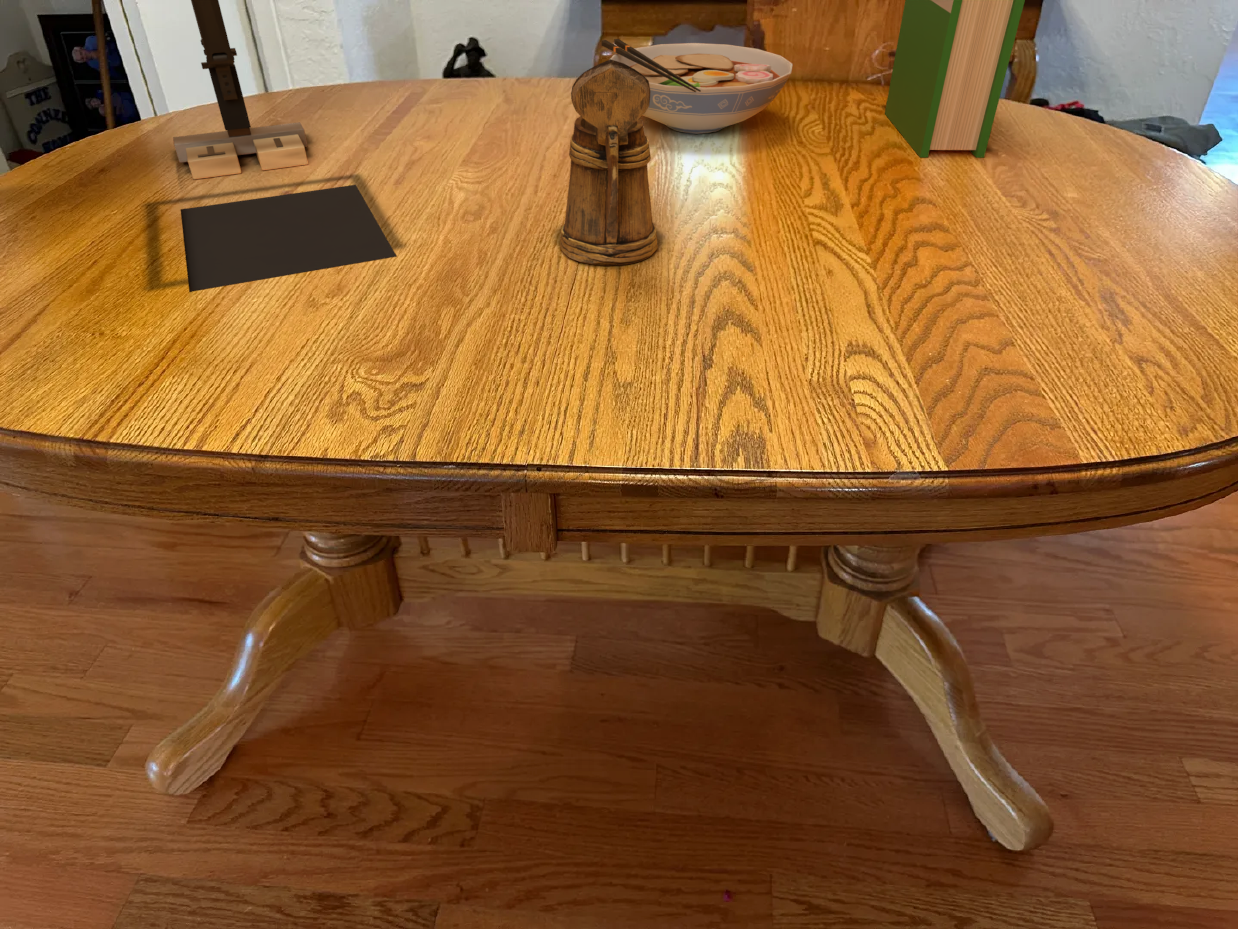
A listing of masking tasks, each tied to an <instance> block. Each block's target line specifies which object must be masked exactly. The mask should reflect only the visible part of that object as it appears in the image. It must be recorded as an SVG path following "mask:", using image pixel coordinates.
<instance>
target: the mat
mask: <svg viewBox="0 0 1238 929" xmlns="http://www.w3.org/2000/svg"><path fill="white" fill-rule="evenodd" d="M180 219H181V228H182V236H183V245H184V246H183V247H184V256H185V265H186V274H187V285H188V293H193V292H196V291H197V292H198V291H204V290H209V289H216V288H221V287H226V286H233V285H239V284H245V283H251V282H257V281H262V280H269V279H275V278H279V277H285V276H292V275H297V274H303V273H309V272H314V271H315V272H316V271H321V270H326V269H327V270H328V269H332V268H339V267H344V266H350V265H355V264H362V263H367V262H372V261H374V262H375V261H381V260H384V259H385V260H386V259H392V258H396V257H398V255H397V254H396V253H395V251H394V249H393V247H392V245H391V244H390V241H389V240H388V239H387V237H386V235H385V233H384V232H383V229H382V228H381V227H380V226H381V225H380V224H379V222H378V221H377V219H376V217H375V216H374V214H373V213H372V210H371V209H370V207H369V205H368V203H367V202H366V200H365V198H364V196H363V194H362V193H361V192H360V190H359V187H358V185H357V184H350V185H343V186H336V187H329V188H322V189H315V190H307V191H301V192H294V193H287V194H286V193H285V194H279V195H273V196H267V197H265V196H264V197H258V198H252V199H251V198H250V199H243V200H237V201H230V202H221V203H216V204H210V205H202V206H194V207H187V208H181V209H180Z"/></svg>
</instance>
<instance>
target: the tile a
mask: <svg viewBox="0 0 1238 929" xmlns="http://www.w3.org/2000/svg"><path fill="white" fill-rule="evenodd" d="M186 154H187V160H188V162H187V164H188V166H189V171H190V174H191V178H192V180H202V179H208V178H209V179H210V178H214V177H224V176H230V175H239V174H242V168H241V166H240V165H241V164H240V161H239V158H238V155H237V154H236V151H235V147H234V144H233V143H232V142H231V143H223V144H215V145H207V146H198V147H190V148H186Z"/></svg>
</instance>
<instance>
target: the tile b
mask: <svg viewBox="0 0 1238 929" xmlns="http://www.w3.org/2000/svg"><path fill="white" fill-rule="evenodd" d="M253 143H254V147H255V150H256V153H255V154H256V158H257V160H258V163H259V166H260V169H261V170H262V171H268V170H276V169H277V170H278V169H284V168H292V167H298V166H299V167H300V166H306V165H309V161H308V156H307V152H306V148H305V147H304V145H303V143H302V141H301V139H300V138H299V136H298V134H296V135H288V136H280V137H272V138H264V139H256V140H253Z"/></svg>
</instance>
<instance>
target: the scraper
mask: <svg viewBox="0 0 1238 929" xmlns="http://www.w3.org/2000/svg"><path fill="white" fill-rule="evenodd" d="M296 134H298V136H299V138H300V139H301V141H302V143H303V145H304V147H308V141H307V140H308V139H307V136H306V131H305V128H304V126H303V125H302V123H301V121H299V122H298V121H297V122H289V123H281V124H272V125H265V126H256V127H255V126H254V127H251V128H243V129H235V130H222V131H214V132H213V131H212V132H205V133H197V134H189V135H179V136H173V137H172V140H173V141H172V142H173V147H174V149H175V152H176V156H177V159H178V162H179V163H188V160H187V154H186V148H190V147H198V146H207V145H215V144H223V143H231V142H232V143H233V144H234V147H235V151H236V154H237V156H241V155H251V154H256V150H255V147H254V143H253V140H256V139H264V138H272V137H280V136H288V135H296Z"/></svg>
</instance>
